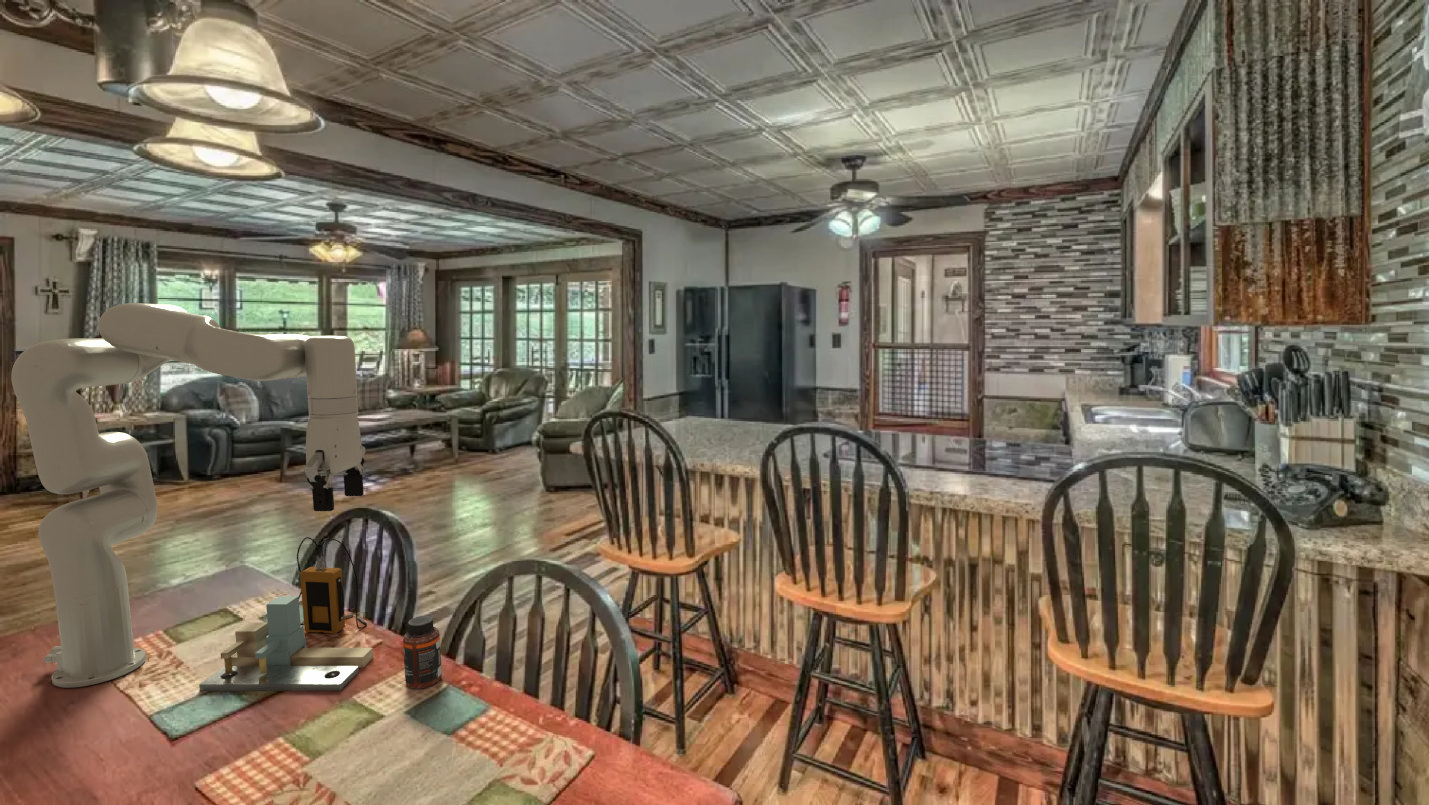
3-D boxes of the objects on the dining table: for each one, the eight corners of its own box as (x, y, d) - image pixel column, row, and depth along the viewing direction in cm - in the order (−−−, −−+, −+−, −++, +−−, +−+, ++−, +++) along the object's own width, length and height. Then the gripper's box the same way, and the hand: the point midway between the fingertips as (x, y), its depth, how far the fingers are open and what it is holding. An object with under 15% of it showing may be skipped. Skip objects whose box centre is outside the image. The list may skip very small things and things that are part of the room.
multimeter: (383, 614, 144) (378, 525, 141) (354, 636, 134) (348, 540, 131) (320, 611, 145) (314, 522, 143) (286, 632, 135) (279, 537, 133)
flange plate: (199, 691, 114) (199, 683, 113) (224, 672, 120) (224, 665, 119) (340, 690, 114) (340, 683, 114) (358, 672, 120) (358, 665, 120)
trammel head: (249, 681, 116) (244, 617, 114) (285, 652, 126) (281, 594, 124) (272, 681, 116) (267, 617, 114) (306, 652, 126) (302, 594, 124)
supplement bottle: (449, 677, 118) (446, 616, 117) (422, 693, 113) (419, 630, 112) (425, 669, 121) (422, 610, 120) (397, 685, 116) (394, 623, 114)
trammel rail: (209, 684, 116) (205, 646, 115) (245, 657, 125) (242, 622, 124) (347, 683, 116) (345, 645, 115) (373, 657, 125) (371, 622, 124)
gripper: (339, 401, 124) (344, 490, 126) (280, 413, 106) (287, 517, 108) (379, 401, 124) (384, 490, 126) (327, 414, 107) (334, 517, 109)
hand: (339, 503), depth 117 cm, fingers open, 9 cm apart
